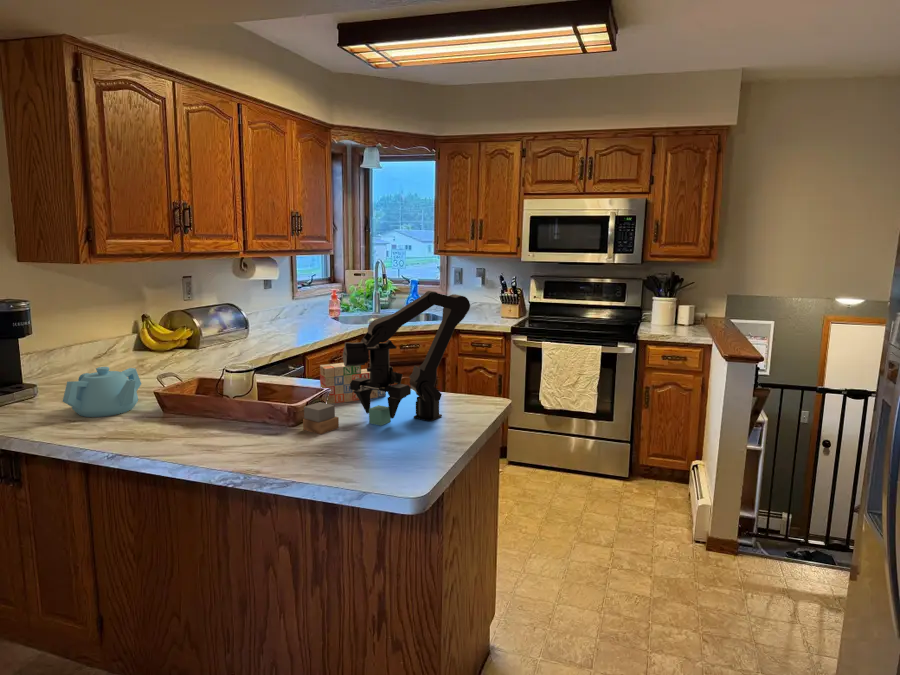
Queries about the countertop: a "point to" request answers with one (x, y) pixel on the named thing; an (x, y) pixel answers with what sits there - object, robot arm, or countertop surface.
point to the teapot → (103, 392)
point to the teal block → (379, 415)
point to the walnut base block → (321, 425)
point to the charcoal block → (319, 412)
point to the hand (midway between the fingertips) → (380, 415)
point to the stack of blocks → (343, 382)
